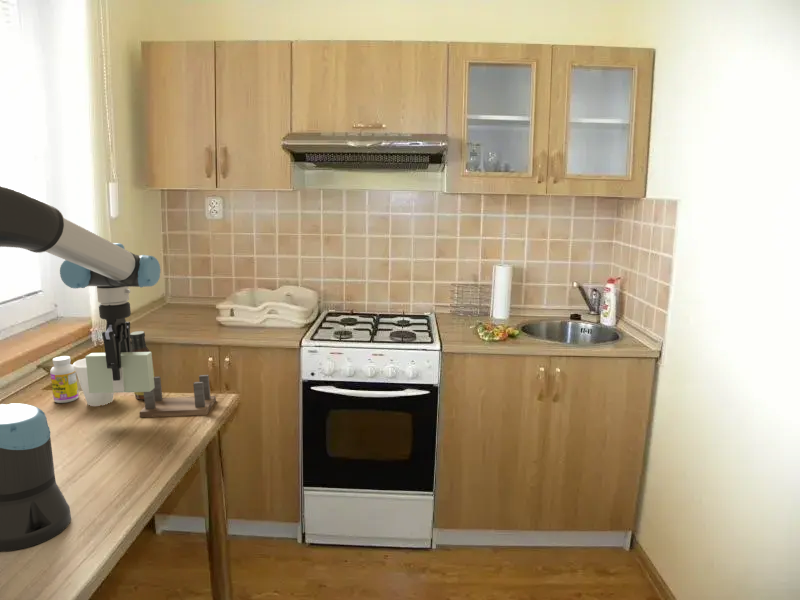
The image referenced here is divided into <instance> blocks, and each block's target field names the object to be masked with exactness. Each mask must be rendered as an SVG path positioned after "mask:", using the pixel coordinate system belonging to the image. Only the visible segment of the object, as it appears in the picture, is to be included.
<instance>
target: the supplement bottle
mask: <svg viewBox="0 0 800 600" xmlns="http://www.w3.org/2000/svg"><path fill="white" fill-rule="evenodd" d="M71 361H72V360H71V356H69V355H61V356H56V357H53V358H52V364H53V366H52V367H51V369H50V370H49V372H50V373H49V374H50V381H51V387H52V388H51V389H52V397H53V401H54V402H55V403H58V404H66V403H71V402H74V401H76V400H77V399H78V398H79V397H80V396H79V387H78V377H77V374H76V372H75V369H74V366H73V364H71Z"/></svg>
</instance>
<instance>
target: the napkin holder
mask: <svg viewBox="0 0 800 600" xmlns="http://www.w3.org/2000/svg"><path fill="white" fill-rule="evenodd" d="M154 386H155V388H154V389H153V390H151V391H150V392H144V407H143V408H142V409H141V410H140V411H139V418H149V417H151V418H152V417H157V418H158V417H179V416H180V417H181V416H205V415H206V416H207V415H208V413H209V412H210V411H211V409H212V407H213V406H214V404H215V403H216V402H217V399H216V398H217V397H216V395H211V387H210V386H211V385H210V376H209V374H200V375H199V376H198V381H195V382H193V385H192V386H193V395H194V396H175V397H173V396H172V397H169V396H168V397H163V389H162V380H161V376H155V377H154Z"/></svg>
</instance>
